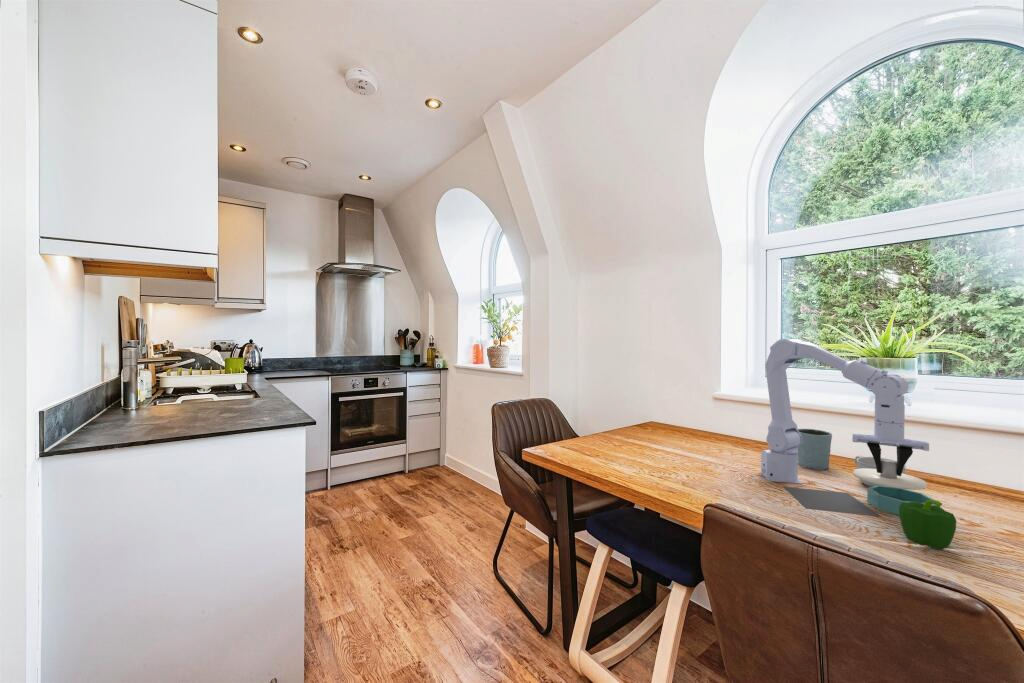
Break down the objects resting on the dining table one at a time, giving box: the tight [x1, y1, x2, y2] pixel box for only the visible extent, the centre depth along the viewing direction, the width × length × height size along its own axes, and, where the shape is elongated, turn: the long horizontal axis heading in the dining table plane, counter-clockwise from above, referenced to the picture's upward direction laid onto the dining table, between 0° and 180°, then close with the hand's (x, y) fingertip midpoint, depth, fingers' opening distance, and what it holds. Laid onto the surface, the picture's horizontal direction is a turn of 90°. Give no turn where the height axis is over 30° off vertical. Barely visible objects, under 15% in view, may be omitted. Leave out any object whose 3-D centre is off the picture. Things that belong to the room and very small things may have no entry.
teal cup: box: [798, 428, 833, 471], centre depth 141 cm, size 10×10×12 cm
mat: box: [783, 486, 882, 518], centre depth 110 cm, size 16×16×1 cm
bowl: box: [866, 485, 937, 516], centre depth 105 cm, size 12×12×4 cm
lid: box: [852, 460, 928, 491], centre depth 106 cm, size 14×14×5 cm
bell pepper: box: [898, 498, 957, 550], centre depth 87 cm, size 8×8×10 cm
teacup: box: [854, 455, 907, 488], centre depth 122 cm, size 14×11×8 cm
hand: (888, 473), depth 106 cm, fingers closed on lid, 3 cm apart
